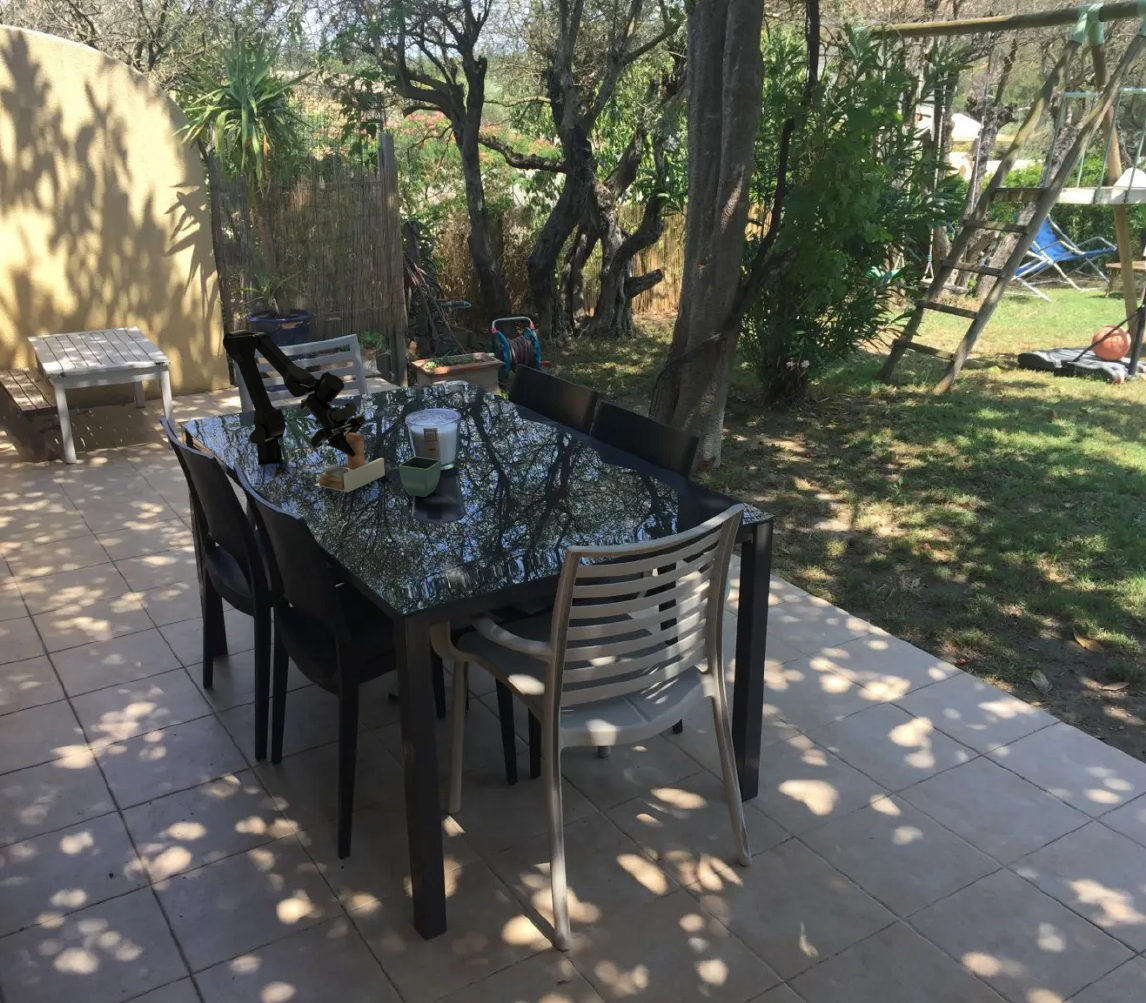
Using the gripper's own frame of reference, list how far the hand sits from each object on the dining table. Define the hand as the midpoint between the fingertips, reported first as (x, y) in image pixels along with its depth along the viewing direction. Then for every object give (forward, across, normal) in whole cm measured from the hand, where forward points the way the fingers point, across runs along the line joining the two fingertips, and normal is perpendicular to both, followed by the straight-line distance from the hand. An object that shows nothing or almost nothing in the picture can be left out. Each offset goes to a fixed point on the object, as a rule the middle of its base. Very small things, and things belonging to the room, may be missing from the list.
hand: (356, 454), depth 279 cm
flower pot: (+21, -2, -11) cm, 24 cm away
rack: (+5, -5, +5) cm, 8 cm away
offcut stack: (+4, -9, +4) cm, 11 cm away
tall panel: (+4, 0, +5) cm, 6 cm away
